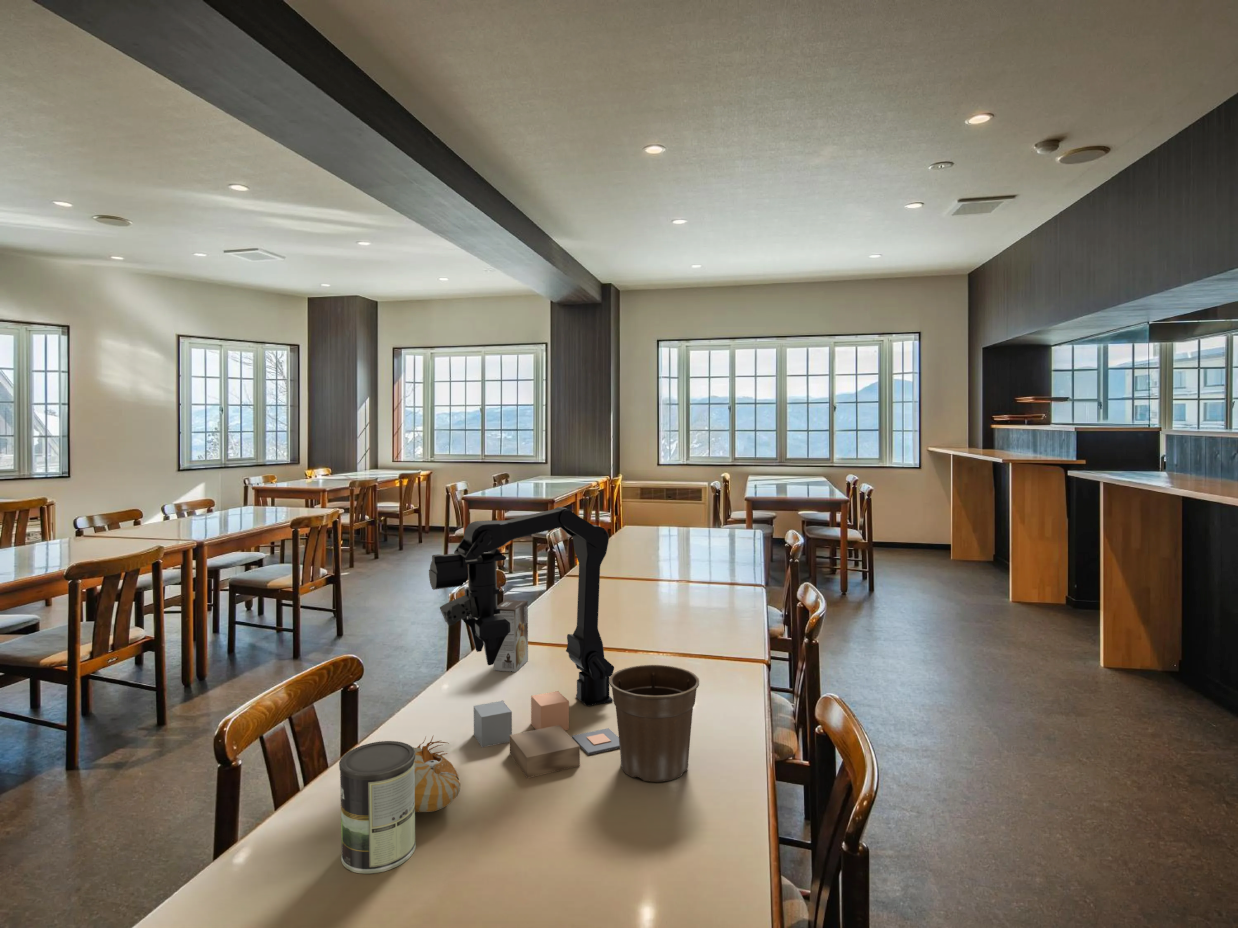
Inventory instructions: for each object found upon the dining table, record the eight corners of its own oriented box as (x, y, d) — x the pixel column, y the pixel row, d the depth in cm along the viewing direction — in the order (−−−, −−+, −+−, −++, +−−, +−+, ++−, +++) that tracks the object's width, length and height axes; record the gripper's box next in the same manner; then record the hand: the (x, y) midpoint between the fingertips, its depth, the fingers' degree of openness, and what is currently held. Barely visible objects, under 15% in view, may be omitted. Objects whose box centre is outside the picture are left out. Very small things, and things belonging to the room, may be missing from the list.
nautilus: (411, 764, 127) (489, 774, 125) (348, 822, 106) (441, 836, 104) (414, 721, 127) (492, 730, 125) (351, 770, 106) (444, 783, 104)
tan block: (559, 745, 135) (559, 724, 135) (579, 767, 126) (579, 745, 126) (509, 755, 130) (509, 734, 130) (527, 779, 121) (527, 757, 121)
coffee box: (505, 658, 184) (505, 599, 183) (528, 660, 183) (528, 600, 182) (492, 670, 175) (492, 607, 174) (516, 672, 174) (516, 609, 173)
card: (608, 730, 140) (608, 726, 140) (626, 746, 133) (626, 742, 133) (571, 737, 137) (571, 734, 137) (588, 755, 130) (588, 751, 130)
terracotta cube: (558, 718, 146) (558, 690, 146) (568, 729, 141) (568, 700, 141) (531, 723, 144) (531, 695, 143) (541, 735, 138) (540, 705, 138)
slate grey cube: (503, 729, 141) (502, 700, 141) (511, 741, 136) (511, 711, 135) (473, 735, 138) (473, 705, 138) (481, 747, 133) (481, 716, 133)
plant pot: (595, 754, 130) (595, 670, 129) (672, 739, 136) (672, 659, 136) (631, 797, 115) (631, 701, 114) (715, 778, 121) (716, 687, 121)
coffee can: (330, 876, 94) (328, 775, 94) (353, 832, 105) (351, 741, 104) (408, 872, 95) (406, 772, 95) (422, 829, 106) (421, 739, 105)
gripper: (433, 578, 147) (436, 650, 148) (452, 598, 130) (455, 679, 131) (485, 573, 152) (487, 642, 153) (510, 591, 135) (512, 669, 136)
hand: (484, 657), depth 143 cm, fingers open, 9 cm apart
